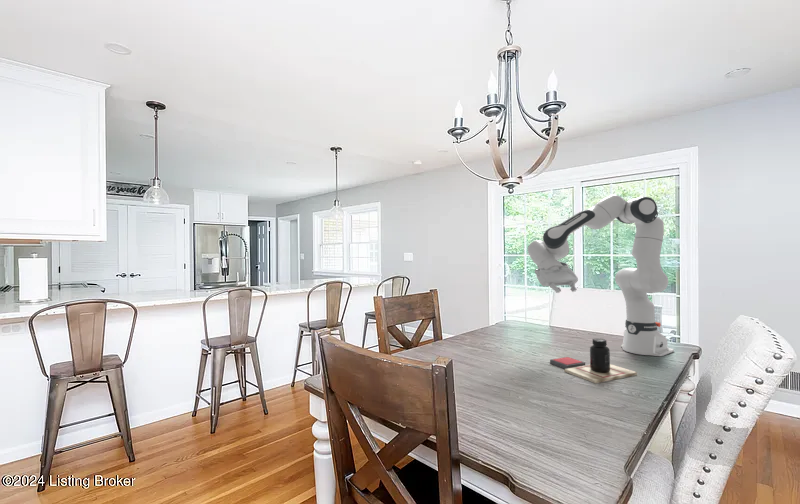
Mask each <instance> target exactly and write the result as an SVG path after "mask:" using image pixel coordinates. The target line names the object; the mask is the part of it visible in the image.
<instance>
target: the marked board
mask: <svg viewBox="0 0 800 504" xmlns="http://www.w3.org/2000/svg"><path fill="white" fill-rule="evenodd" d="M564 373H567V374H570V375H573V376H574V377H575V376H576V377H577V378H580V379H584V380H586V381H589V382H591V383H594V384H598V383H604V382H608V381H609V382H610V381H613V380H619V379H625V378H628V377H633V376H637V375H638V372H637V371H634V370H631V369H629V368H628V369H627V368H625V367H622V366H618V365H615V364H611V363H610V372H608V373H599V372H594V371H592V370H591V368H590V364H587V365H586V364H585V366H579V367H574V368H568V369H565V368H564Z"/></svg>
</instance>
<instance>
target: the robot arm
mask: <svg viewBox="0 0 800 504" xmlns="http://www.w3.org/2000/svg"><path fill="white" fill-rule="evenodd" d="M658 215H659V212H658V205H657V203H656V200H654V199H653V198H652V197H648V196H639V197H636V198H631V199H629V200H624V198H622V196H620V195H618V194H610V195H608V196H606V197H603V199H602V198H601V200H599V201H598V202H596V203H595V204H593V205H592V206H591V207H589V208H588V209H583V210H581V211H579V212H577V213H575V214H574V215H572V216H571V217H569V218H568V219H566V220H564V221H563V222H561V223H559V224H557V225H554V226H551V227H549V228H547V229H546V230H545V231H544V233H543V234H542V235H543V236H542V239H543V240H538V239H535V240H533V241H532V242H530V244H529V245H528V247H527V254H528V255H529V257H530V259H531V260H532V262H533V263H534V264H535V265H536V266H537V268H535V270H534V274H535V275H536V278H537V281H538V282H539V283H540V285H541V286H542V287H550V288H551V289H552V290H554V291H555V293H557V294H559V293H560V292H562V289H561V288H560V286H569V287H570V290H571V292H573V293H574V292H576V291H577V287H576V284H577V282H578V280H579V279H578V276H577V275H576V273H575V272H574V271H573V270H572V268H570V266H569V264H568V263H566V262H562V261H559V260H561V259H563V258H565V257H567V256H568V255H569V253H570V246H569V241H568V238H569V236H570V235H571V234H572V233H574V232H575V231H578V230H579V229H580V228H582V227H584V226H586V227H588V228H590V229H591V230H592V229H593V230H600V229H603V228H604V227H606V226H608V225H609V224H610V223H611V222H612V221H615V219H616V220H618V221H619V222H620V223H623V224H628V225H630V224H634V225H635V235H634V239H633V245H632V249H631V254H632V257H633V258H634V259H635V262H636V267H625V268H622V269H620V270H618V271H617V272H616V273H615V276H614V281H615V284H616V285H617V286H618V287H619V288H620V290H621V292H622V294H623V298H624V302H625V306H626V308H625V309H626V319H625V321H624V322H625V323H624V324H625V330H624V331H623V339H622V344H620V347H621V348H622V350H623V351H624V352H627V353H631V354H636V355H643V356H644V355H645V356H655V357H663V356H666V355H668V354H672V353H674V352H675V349H674V348H671V347H669V346H668V339H667V337H666V336H664V335H663V334H662V333H661V332H660V331H659V330H658V327H659V328H661V326H662V325H661V322H657V321H655V319H656V318H655V312H656V311H655V304H654V303H653V302H652V301H651V300H650V298H649V297H648V294H656V293H663V292H664V291H665V290H666V289H667V287H668V286H669V278H668V276H667V274H666V272H664V271H663V269H662V265H661V252H662V247H663V246H662V245H663V241H664V231H665V229H664V228H665V226H664V225H665V224H664V220H663V219H661V218H660V217H658Z"/></svg>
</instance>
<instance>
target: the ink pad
mask: <svg viewBox="0 0 800 504" xmlns="http://www.w3.org/2000/svg"><path fill="white" fill-rule="evenodd" d="M549 363H550V364H551V365H554V366H556V367H559V368H562V369H564V370H565V369H568V368H574V367H579V366H585V365H586V362H584V361H582V360H579V359H575V358H572V357H569V356H564V357H558V358H553V359H549Z"/></svg>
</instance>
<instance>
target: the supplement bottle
mask: <svg viewBox="0 0 800 504" xmlns="http://www.w3.org/2000/svg"><path fill="white" fill-rule="evenodd" d="M607 345H608V344H607V339H604V338H592V345H591V346H590V347H589V363H590V364H589V365H590V368H591V370H592V371H594V372H599V373H608V372H610V364H611V356H610V355H611V351H610V348H609V347H608V346H607Z"/></svg>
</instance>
